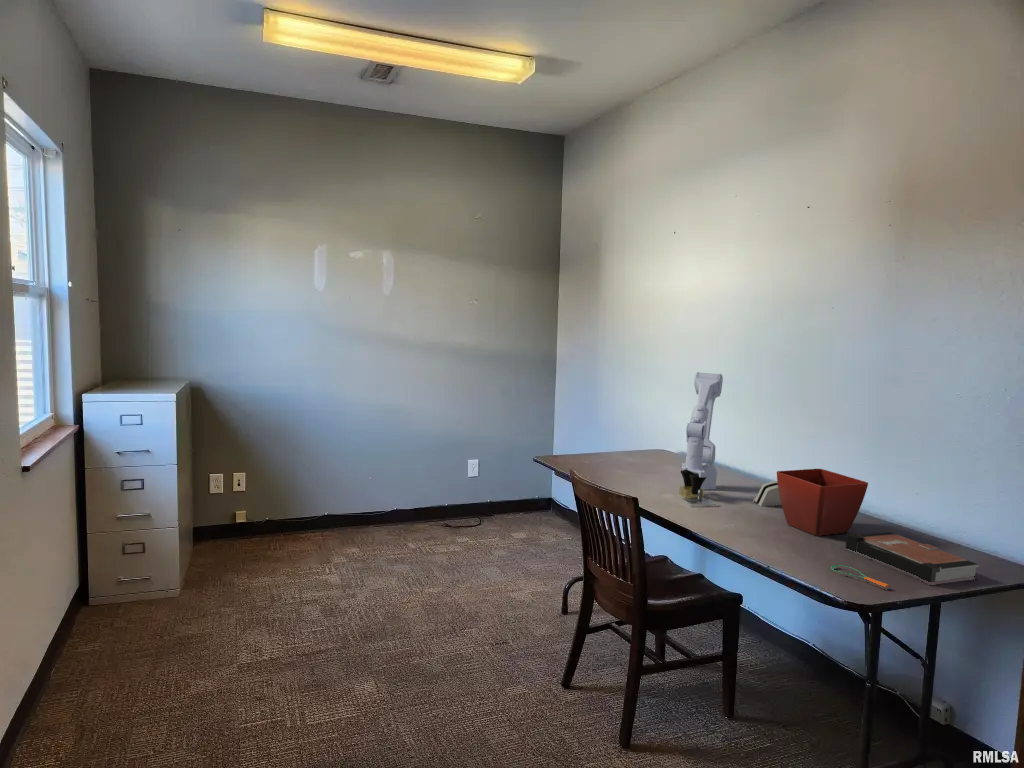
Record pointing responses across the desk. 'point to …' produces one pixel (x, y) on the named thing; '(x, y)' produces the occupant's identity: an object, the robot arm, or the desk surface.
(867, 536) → the book
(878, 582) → the green orange wire loop
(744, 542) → the desk surface
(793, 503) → the plant pot
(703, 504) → the keeper plate
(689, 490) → the link
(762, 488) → the grey curved piece
